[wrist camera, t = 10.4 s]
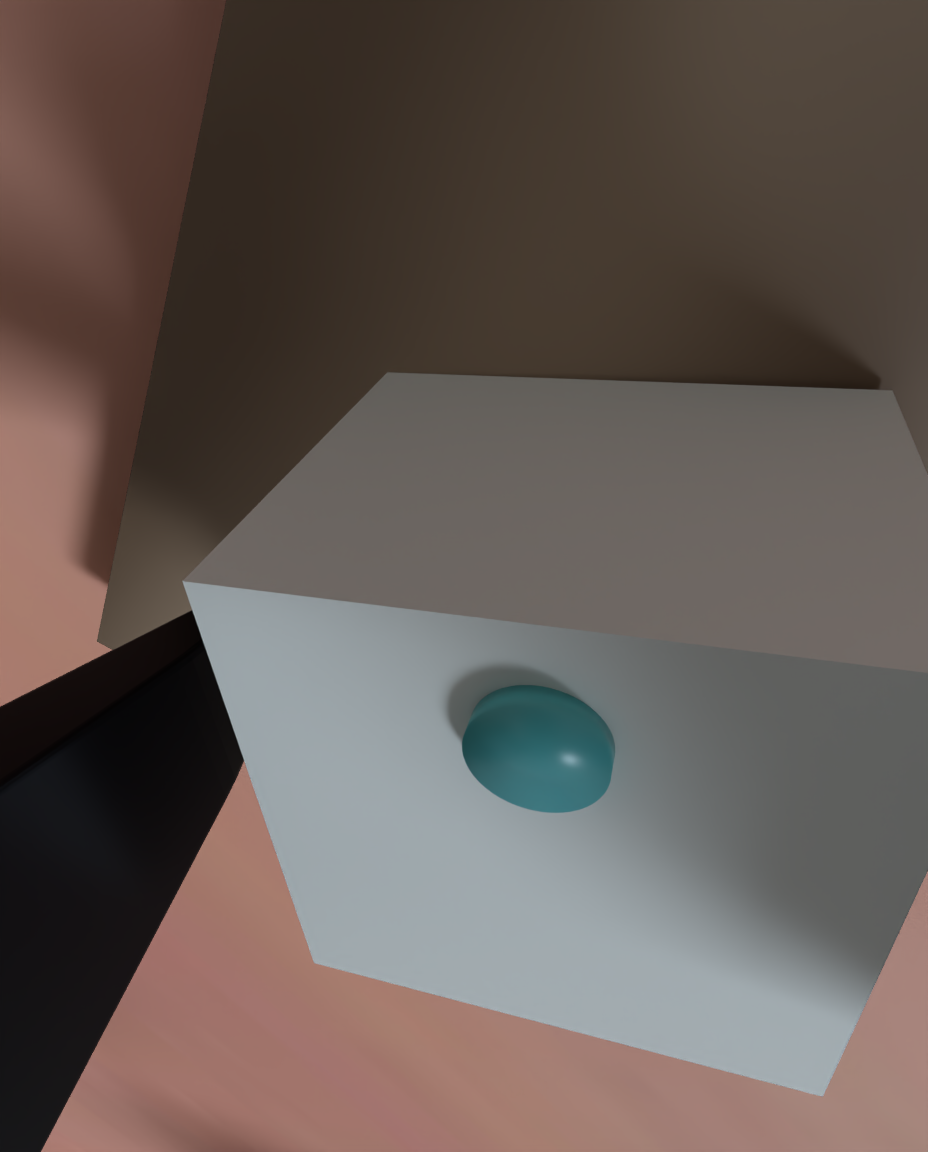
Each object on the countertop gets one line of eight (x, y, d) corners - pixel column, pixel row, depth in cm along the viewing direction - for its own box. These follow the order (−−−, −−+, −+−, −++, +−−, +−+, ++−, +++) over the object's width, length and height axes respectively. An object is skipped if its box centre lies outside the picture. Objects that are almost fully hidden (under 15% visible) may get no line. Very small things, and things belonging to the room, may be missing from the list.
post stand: (133, 604, 13) (-35, 773, 10) (374, -402, 6) (15, -839, 3) (719, 920, 14) (720, 1161, 11) (1583, 394, 7) (2286, 696, 4)
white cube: (795, 758, 10) (824, 1121, 7) (430, 701, 11) (305, 981, 8) (892, 390, 7) (1024, 710, 4) (387, 372, 8) (165, 598, 5)
